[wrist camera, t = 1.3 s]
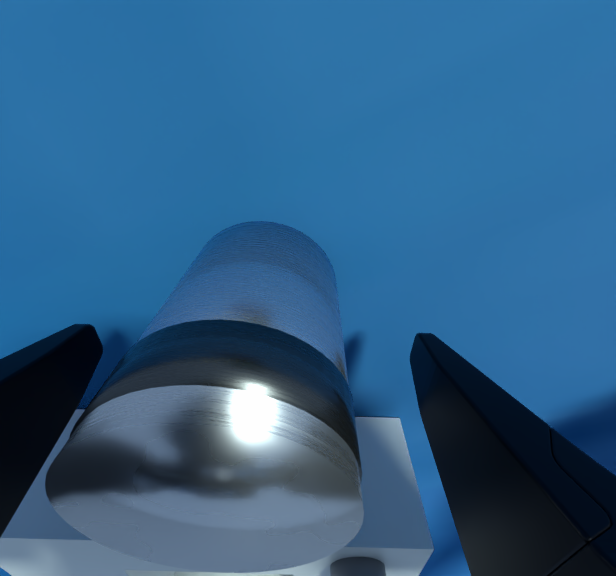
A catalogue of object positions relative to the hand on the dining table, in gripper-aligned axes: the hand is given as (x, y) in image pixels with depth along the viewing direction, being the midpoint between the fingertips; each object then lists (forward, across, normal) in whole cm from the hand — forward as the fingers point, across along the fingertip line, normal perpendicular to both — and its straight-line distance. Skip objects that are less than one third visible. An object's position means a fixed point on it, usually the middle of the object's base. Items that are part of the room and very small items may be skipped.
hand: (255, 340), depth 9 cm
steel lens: (+3, 0, 0) cm, 3 cm away
